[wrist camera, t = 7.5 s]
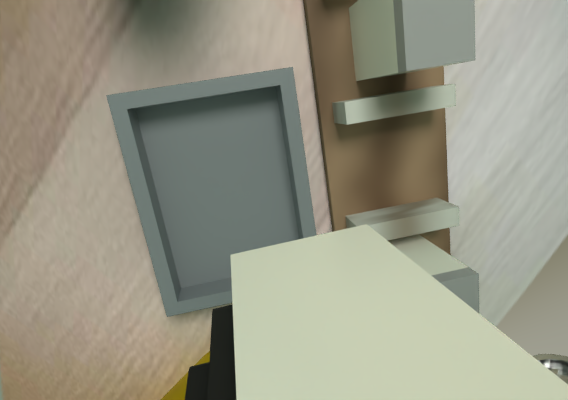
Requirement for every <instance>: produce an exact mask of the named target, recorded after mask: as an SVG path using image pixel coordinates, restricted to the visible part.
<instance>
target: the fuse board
mask: <svg viewBox="0 0 568 400" xmlns="http://www.w3.org/2000/svg"><path fill="white" fill-rule="evenodd" d="M357 1H358V0H303V2H304V9H305V17H306V25H307V33H308V41H309V49H310V57H311V64H312V72H313V80H314V88H315V96H316V104H317V111H318V119H319V127H320V135H321V143H322V151H323V159H324V166H325V174H326V182H327V190H328V198H329V206H330V214H331V221H332V229H333V232H334V231H338V230H343V229H347V228H352V227H356V226H361V225H365V224H367V225H368V226H370V227H371V228H372V229H373V230H375V231H376V232H377V233H378V234H380V235H381V236H382V237H383V238H385V239H386V240H392V239H397V238H402V237H406V236H411V235H416V234H419V235H421V236H422V237H424V238H425V239H427V240H428V241H430V242H431V243H433V244H434V245H436V246H437V247H439V248H440V249H442V250H443V251H445V252H446V253H448V254H449V255H450V231H449V227H454V226H459V207H458V206H456V205H453V204H451V203H449V202H448V177H447V150H446V122H445V108H447V107H453V106H456V91H455V84H449V85H444V68H443V66H442V67H437V68H431V69H426V70H421V71H416V72H410V73H405V74H398V75H392V76H386V77H380V78H373V79H367V80H361V81H356V76H355V66H354V56H353V46H352V36H351V25H350V15H349V7H351V6H352V5H353V4H354V3H356V2H357Z"/></svg>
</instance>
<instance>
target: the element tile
mask: <svg viewBox="0 0 568 400" xmlns="http://www.w3.org/2000/svg"><path fill="white" fill-rule="evenodd" d="M207 362H210V352H208V353H207V354H206V355H204V356H203V357H202V358H201V359H200V360H199V361H198V362H197V363H196V364H195V365H199V364H203V363H207ZM195 365H194V366H195ZM187 378H188V373H187V374H186V375H185V376H184V377H183V378H182V379H181V380H180V381H179V382H178V383H177V384H176V385H175V386H174V387H173V388H172V389H171V390H170V391H169V392H168V393H167V394H166V395H165V396H164V397H163V398H162V399H161V400H185V393H186V385H187Z"/></svg>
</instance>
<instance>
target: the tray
mask: <svg viewBox="0 0 568 400" xmlns="http://www.w3.org/2000/svg"><path fill="white" fill-rule="evenodd" d="M106 96H107V100H108V103H109V107H110V111H111V114H112V118H113V122H114V125H115V129H116V132H117V136H118V140H119V143H120V147H121V151H122V154H123V158H124V162H125V165H126V169H127V173H128V176H129V180H130V184H131V187H132V191H133V195H134V198H135V202H136V205H137V209H138V213H139V216H140V220H141V224H142V227H143V231H144V235H145V238H146V242H147V246H148V249H149V253H150V257H151V260H152V264H153V268H154V271H155V275H156V278H157V282H158V286H159V289H160V293H161V297H162V300H163V304H164V308H165V311H166V315H167V317H168V316H173V315H178V314H182V313H187V312H191V311H196V310H201V309H205V308H210V307H214V306H219V305H223V304H228V303H232V280H231V257H230V255H231V254H236V253H240V252H245V251H249V250H254V249H258V248H263V247H267V246H272V245H276V244H280V243H285V242H289V241H294V240H298V239H303V238H307V237H312V236H316V229H315V222H314V215H313V208H312V201H311V194H310V187H309V179H308V172H307V165H306V158H305V151H304V144H303V137H302V130H301V122H300V115H299V108H298V101H297V94H296V87H295V80H294V73H293V67H290V68H283V69H276V70H270V71H263V72H257V73H250V74H244V75H237V76H230V77H224V78H217V79H211V80H204V81H198V82H191V83H185V84H178V85H171V86H165V87H158V88H152V89H145V90H139V91H132V92H126V93H119V94H112V95H106Z"/></svg>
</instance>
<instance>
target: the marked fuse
mask: <svg viewBox="0 0 568 400" xmlns="http://www.w3.org/2000/svg"><path fill="white" fill-rule="evenodd" d="M230 257H231V280H232V304H233V328H234V352H235V375H236V399H237V400H568V384H567V383H565V382H564V381H563V380H562V379H560V378H559V377H558V376H557V375H555V374H554V373H553V372H552V371H550V370H549V369H548V368H547V367H545V366H544V365H543V364H542V363H540V362H539V361H538V360H537V359H535V358H534V357H533V356H531V355H530V354H529V353H528V352H526V351H525V350H524V349H523V348H521V347H520V346H519V345H518V344H516V343H515V342H514V341H513V340H511V339H510V338H509V337H508V336H506V335H505V334H504V333H503V332H501V331H500V330H499V329H498V328H496V327H495V326H494V325H493V324H491V323H490V322H489V321H488V320H486V319H485V318H484V317H483V316H481V315H480V314H479V313H478V312H476V311H475V310H474V309H473V308H471V307H470V306H469V305H468V304H466V303H465V302H464V301H462V300H461V299H460V298H459V297H457V296H456V295H455V294H454V293H452V292H451V291H450V290H449V289H447V288H446V287H445V286H444V285H442V284H441V283H440V282H439V281H437V280H436V279H435V278H434V277H432V276H431V275H430V274H429V273H427V272H426V271H425V270H424V269H422V268H421V267H420V266H419V265H417V264H416V263H415V262H414V261H412V260H411V259H410V258H409V257H407V256H406V255H405V254H404V253H402V252H401V251H400V250H399V249H397V248H396V247H395V246H393V245H392V244H391V243H390V242H388V241H387V240H386V239H385V238H383V237H382V236H381V235H380V234H378V233H377V232H376V231H375V230H373V229H372V228H371V227H370V226H368V225H367V224H365V225H361V226H356V227H352V228H347V229H343V230H338V231H334V232H329V233H325V234H321V235H316V236H312V237H307V238H303V239H298V240H294V241H289V242H285V243H280V244H276V245H272V246H267V247H263V248H258V249H254V250H249V251H245V252H240V253H236V254H231V255H230Z"/></svg>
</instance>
